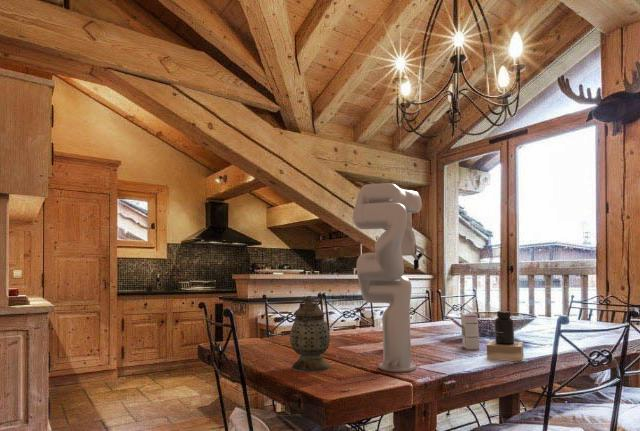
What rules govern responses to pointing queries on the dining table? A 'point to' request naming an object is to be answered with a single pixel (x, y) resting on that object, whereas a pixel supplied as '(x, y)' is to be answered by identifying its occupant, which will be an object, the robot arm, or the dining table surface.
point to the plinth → (505, 351)
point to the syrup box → (470, 330)
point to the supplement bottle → (504, 328)
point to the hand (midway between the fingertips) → (404, 270)
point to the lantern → (309, 337)
